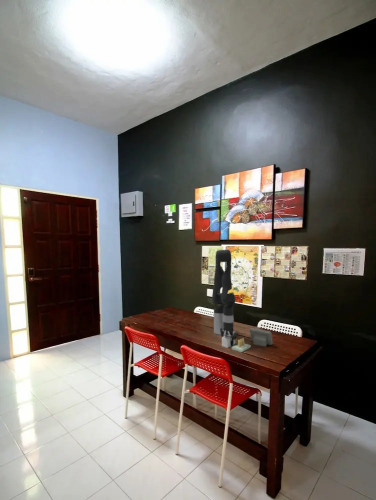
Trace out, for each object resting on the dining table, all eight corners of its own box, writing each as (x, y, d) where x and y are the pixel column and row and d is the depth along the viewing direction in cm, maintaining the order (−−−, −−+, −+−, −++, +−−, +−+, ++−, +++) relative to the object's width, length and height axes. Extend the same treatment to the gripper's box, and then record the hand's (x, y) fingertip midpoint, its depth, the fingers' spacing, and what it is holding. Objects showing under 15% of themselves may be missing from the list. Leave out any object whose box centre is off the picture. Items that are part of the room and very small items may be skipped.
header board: (240, 344, 177) (240, 335, 177) (250, 347, 171) (250, 338, 171) (231, 349, 168) (231, 339, 168) (241, 352, 163) (241, 342, 163)
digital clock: (273, 345, 175) (273, 330, 175) (268, 348, 169) (268, 333, 169) (253, 339, 187) (253, 325, 187) (247, 342, 180) (247, 328, 180)
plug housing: (229, 342, 181) (229, 333, 181) (235, 343, 178) (235, 334, 178) (221, 345, 174) (221, 336, 174) (227, 347, 171) (227, 338, 171)
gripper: (239, 321, 174) (239, 345, 174) (223, 317, 184) (223, 340, 184) (233, 324, 168) (234, 348, 168) (217, 320, 178) (217, 342, 178)
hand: (228, 343), depth 176 cm, fingers closed on plug housing, 5 cm apart
